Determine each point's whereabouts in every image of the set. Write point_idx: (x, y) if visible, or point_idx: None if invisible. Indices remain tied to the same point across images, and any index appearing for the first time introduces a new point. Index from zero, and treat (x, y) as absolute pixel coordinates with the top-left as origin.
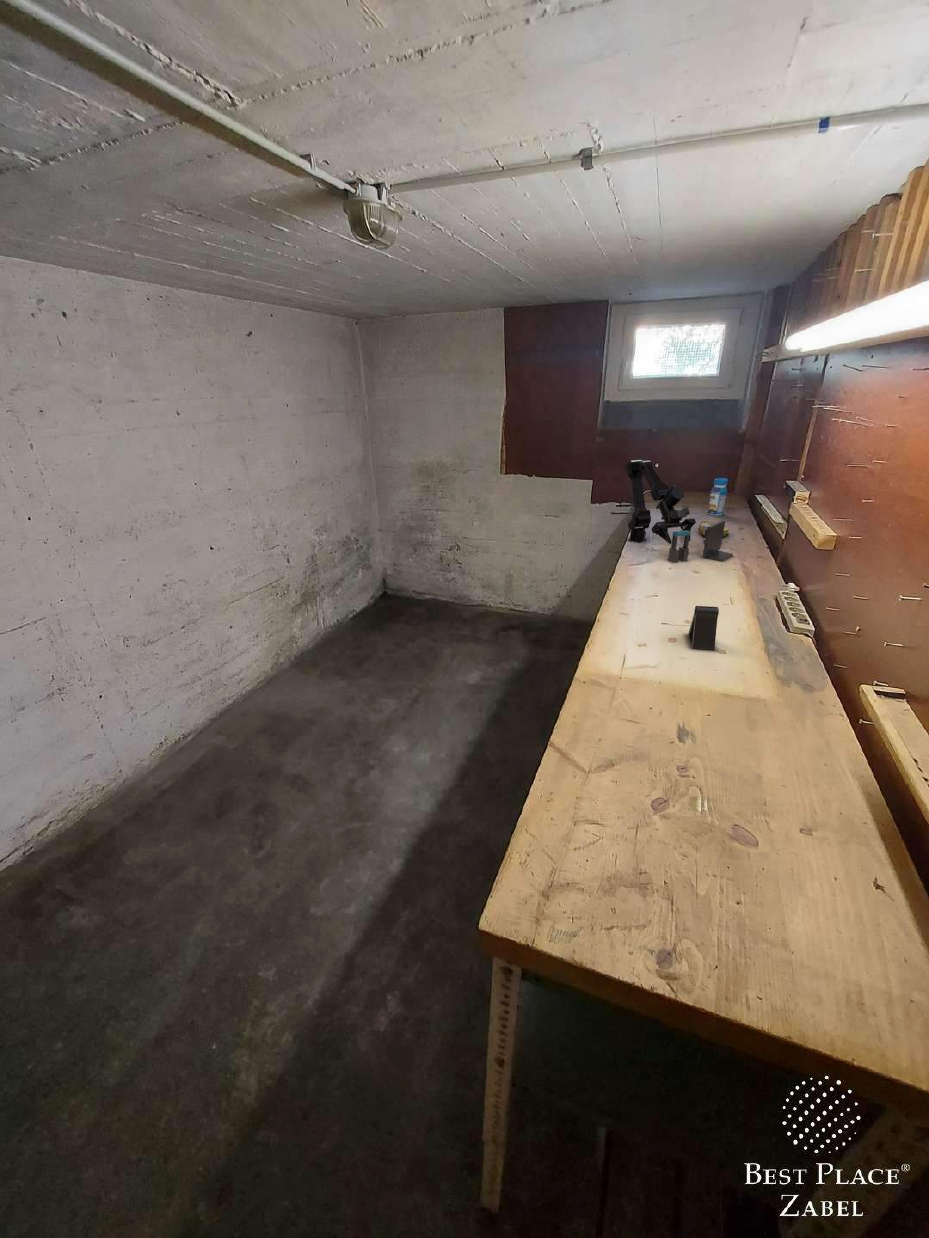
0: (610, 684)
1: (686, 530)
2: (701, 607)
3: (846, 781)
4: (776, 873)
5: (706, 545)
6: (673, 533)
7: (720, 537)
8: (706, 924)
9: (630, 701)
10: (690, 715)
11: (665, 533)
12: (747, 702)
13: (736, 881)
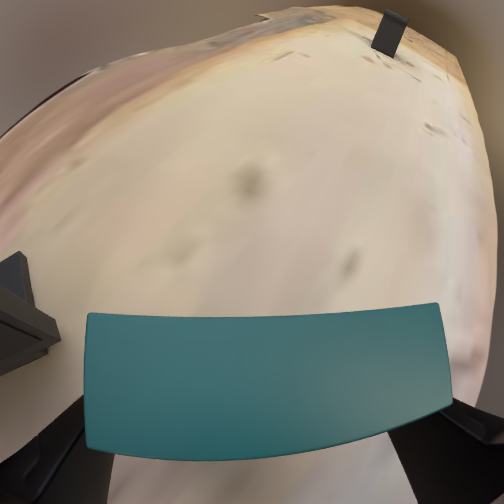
0: (450, 72)
1: (115, 440)
2: (403, 17)
3: (345, 8)
4: None
5: (11, 301)
6: (436, 387)
7: None
8: (409, 29)
9: (437, 60)
10: (404, 40)
11: (493, 416)
12: (368, 25)
13: None
